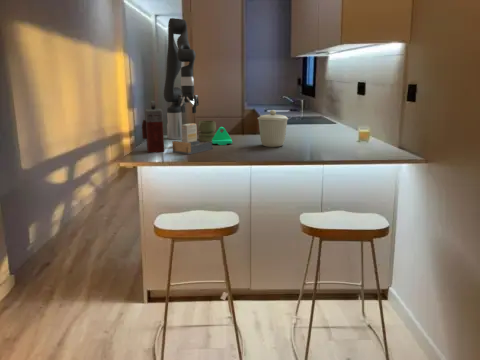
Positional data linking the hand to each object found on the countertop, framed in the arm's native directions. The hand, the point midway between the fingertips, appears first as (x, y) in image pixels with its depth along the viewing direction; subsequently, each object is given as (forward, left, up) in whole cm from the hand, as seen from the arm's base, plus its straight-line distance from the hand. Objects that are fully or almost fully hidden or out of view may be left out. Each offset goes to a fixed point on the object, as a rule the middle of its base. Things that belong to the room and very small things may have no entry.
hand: (188, 112), depth 270 cm
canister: (+41, +28, -20) cm, 53 cm away
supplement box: (0, 0, -20) cm, 20 cm away
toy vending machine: (-5, -25, -20) cm, 32 cm away
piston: (-6, +23, -20) cm, 31 cm away
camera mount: (+12, +16, -20) cm, 28 cm away
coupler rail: (+13, -11, -20) cm, 26 cm away
